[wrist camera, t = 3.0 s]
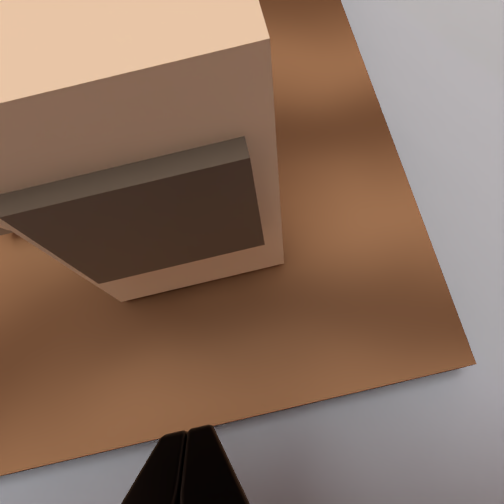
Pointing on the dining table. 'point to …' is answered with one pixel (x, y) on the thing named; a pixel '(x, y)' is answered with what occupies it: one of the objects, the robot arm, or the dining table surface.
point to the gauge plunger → (140, 139)
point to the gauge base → (243, 287)
